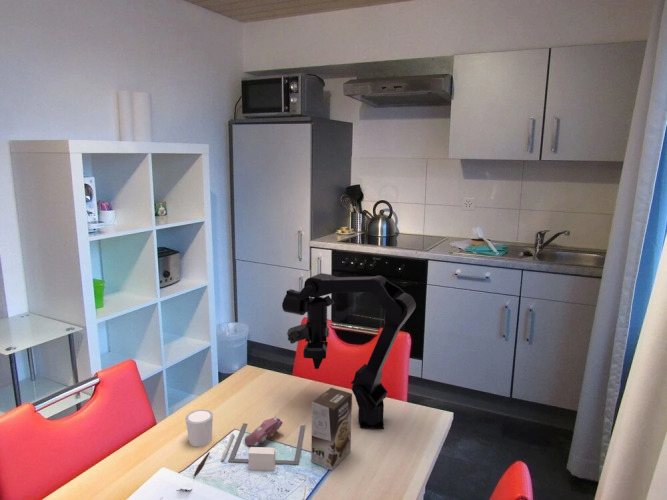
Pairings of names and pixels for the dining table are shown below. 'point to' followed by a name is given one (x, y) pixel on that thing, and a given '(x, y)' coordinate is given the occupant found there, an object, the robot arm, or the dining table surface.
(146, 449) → the dining table surface
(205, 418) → the grey round cup
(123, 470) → the dining table surface
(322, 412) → the coffee box
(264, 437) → the toy car
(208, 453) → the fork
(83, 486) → the dining table surface
